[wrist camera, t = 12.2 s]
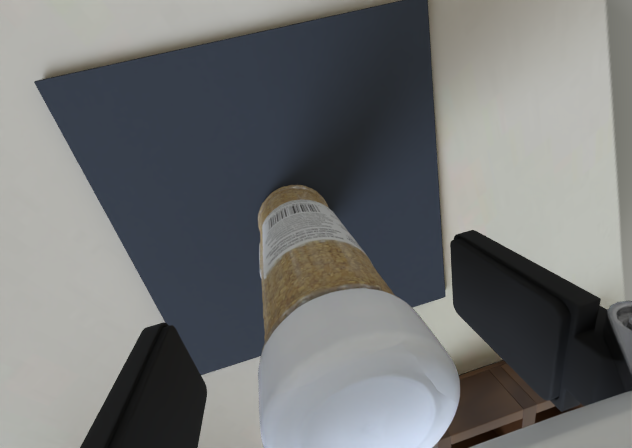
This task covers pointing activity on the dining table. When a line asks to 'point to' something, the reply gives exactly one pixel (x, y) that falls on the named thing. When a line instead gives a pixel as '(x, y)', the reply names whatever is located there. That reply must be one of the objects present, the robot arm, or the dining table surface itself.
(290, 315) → the sprinkles bottle
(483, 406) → the spice rack
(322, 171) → the table mat
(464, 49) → the dining table surface
